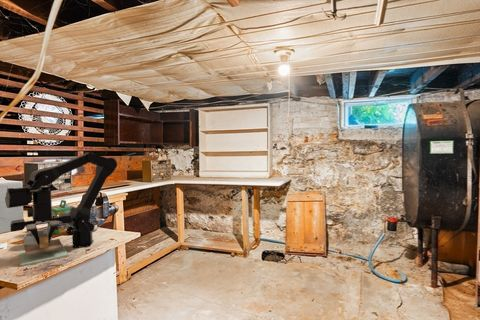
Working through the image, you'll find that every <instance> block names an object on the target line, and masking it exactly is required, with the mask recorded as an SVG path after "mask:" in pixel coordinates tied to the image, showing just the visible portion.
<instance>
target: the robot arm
mask: <svg viewBox="0 0 480 320" xmlns="http://www.w3.org/2000/svg"><path fill="white" fill-rule="evenodd" d="M88 164H91V165H94V166H95V174H94V177H93V178H92V179H91V182H90V184H89V186H88V188H87V189H86V191H85V193H84V195H83V197H82V199H81V201H80V203H79V205H78V206H77V207H75V208H71V211H70V213H66V214H59V217H54V218H52V207H53V205H52V191H53V192H54V191H58V188H57V187H56V186H54V185H53V183H54V182H55V181H57V180H58V179H59V178H60V177H61V176H63V175H65V174H67V173H70V172H71V171H74V170H76V169H78V168H81V167H82V166H85V165H88ZM117 167H118V163H117V159H116V158H113V157H105V156H102V155H98V154H95V153H94V152H84V153H82V154H80V155H78V156H75V157H74V158H71V159H69V160H66V161H64V162H62V163H59V164H57V165H54V166H49V167H44V168H40V169H36V170H34V171H32V172H31V174H30V176H29V179H28V181H27V182H26V183H25V184H24V186H23V187H15V188H13V187H9V188H8V187H7V188H6V193H5V197H4V201H5V205H6V208H7V209H12V208H18V207H26V206H29V204H31V203H32V208H26V210H27V218H32V220H27V221H25V219H24V218H21V219H15V220H11V222H10V232H18V231H19V232H20V231H23V230H24V229H25V228H26V232H31V233H32V234H33V236H34V237H35V239H36V241H37V244H38V245H40V241H39V236H38V231H39V230H38V228H37V226H38V225H45V224H47V225H48V223H49V229H48V228H47V230H48V243H49V242H50V240H51V237H52V238H53V234H54V233H53V232H54V231H55V229H56V227H59V222H60V221H61V222H62V223H63V224H65V223H68V225H69V226H71V227H72V228H73V230H72V231H73V234H72V239H71V240H72V241H71V242H72V248H73V249H74V248H86V247H91V245H92V244H93V243H94V239H93V231H94V229H95V228H96V226H95V225H94V224H93V223H92V222H90V218H91V213H92V212H91V211H92V207H93V206H94V203H95V202H96V200H97V198H98V196H99V194H100V192H101V190H102V188H103V186H104V184H105V182H106V180H107V179H108V178H109V177H110V176H112V174H113V173H114V171H115V170H116V169H117ZM49 220H50V221H49Z"/></svg>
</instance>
